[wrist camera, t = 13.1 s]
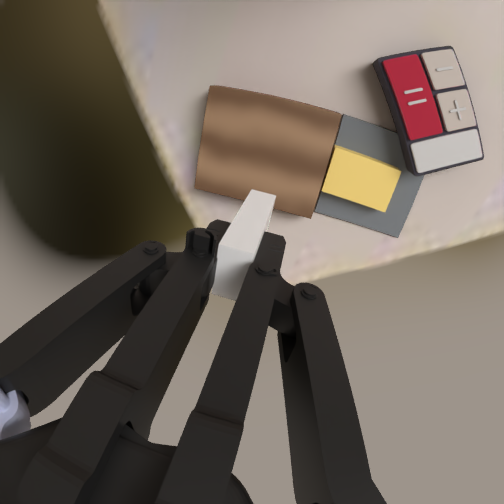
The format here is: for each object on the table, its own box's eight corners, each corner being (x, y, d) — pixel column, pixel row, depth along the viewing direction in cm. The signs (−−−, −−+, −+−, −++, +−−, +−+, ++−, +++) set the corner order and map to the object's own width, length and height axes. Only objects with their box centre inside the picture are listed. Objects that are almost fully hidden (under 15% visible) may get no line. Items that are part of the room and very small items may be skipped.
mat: (343, 114, 33) (343, 114, 33) (432, 148, 32) (433, 149, 32) (314, 210, 41) (314, 211, 41) (397, 236, 40) (398, 237, 40)
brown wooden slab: (217, 85, 34) (209, 85, 32) (339, 113, 33) (341, 115, 31) (202, 181, 42) (194, 188, 39) (311, 209, 41) (310, 218, 38)
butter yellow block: (334, 144, 35) (335, 147, 34) (397, 167, 35) (401, 171, 33) (321, 186, 39) (321, 191, 37) (382, 206, 38) (385, 212, 36)
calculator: (455, 44, 22) (487, 160, 27) (442, 49, 25) (473, 154, 31) (376, 57, 26) (416, 179, 31) (370, 62, 29) (406, 171, 35)
